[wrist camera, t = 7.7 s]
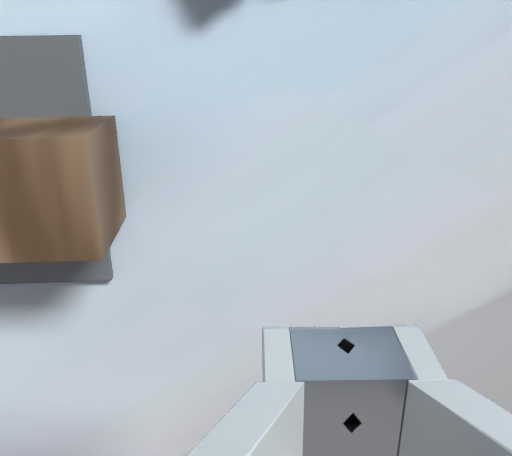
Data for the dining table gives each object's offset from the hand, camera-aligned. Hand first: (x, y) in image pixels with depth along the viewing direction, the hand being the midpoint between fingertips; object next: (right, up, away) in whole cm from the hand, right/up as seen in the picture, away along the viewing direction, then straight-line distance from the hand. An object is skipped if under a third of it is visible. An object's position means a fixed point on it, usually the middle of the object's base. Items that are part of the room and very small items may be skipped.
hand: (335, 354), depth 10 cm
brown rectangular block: (-8, +4, +12) cm, 15 cm away
